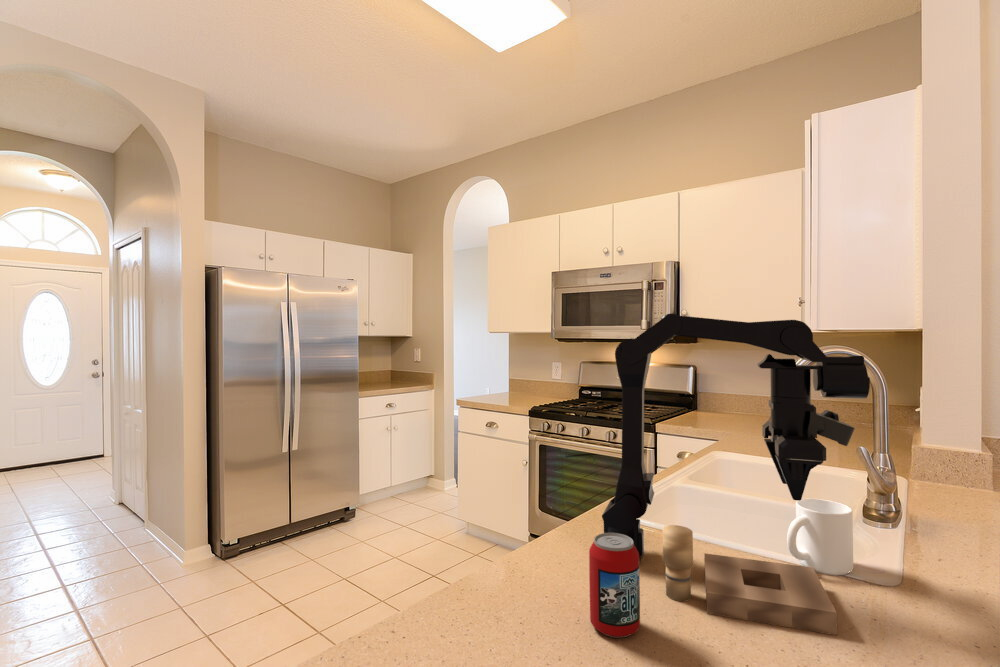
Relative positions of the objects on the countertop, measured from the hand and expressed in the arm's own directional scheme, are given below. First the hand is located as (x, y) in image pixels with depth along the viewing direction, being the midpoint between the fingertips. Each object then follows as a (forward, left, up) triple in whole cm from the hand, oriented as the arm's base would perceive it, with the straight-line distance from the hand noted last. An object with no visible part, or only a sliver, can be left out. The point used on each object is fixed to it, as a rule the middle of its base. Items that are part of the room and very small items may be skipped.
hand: (791, 491), depth 82 cm
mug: (+5, +6, -15) cm, 17 cm away
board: (-5, -9, -14) cm, 18 cm away
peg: (-17, -12, -14) cm, 25 cm away
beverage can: (-25, -24, -15) cm, 38 cm away
